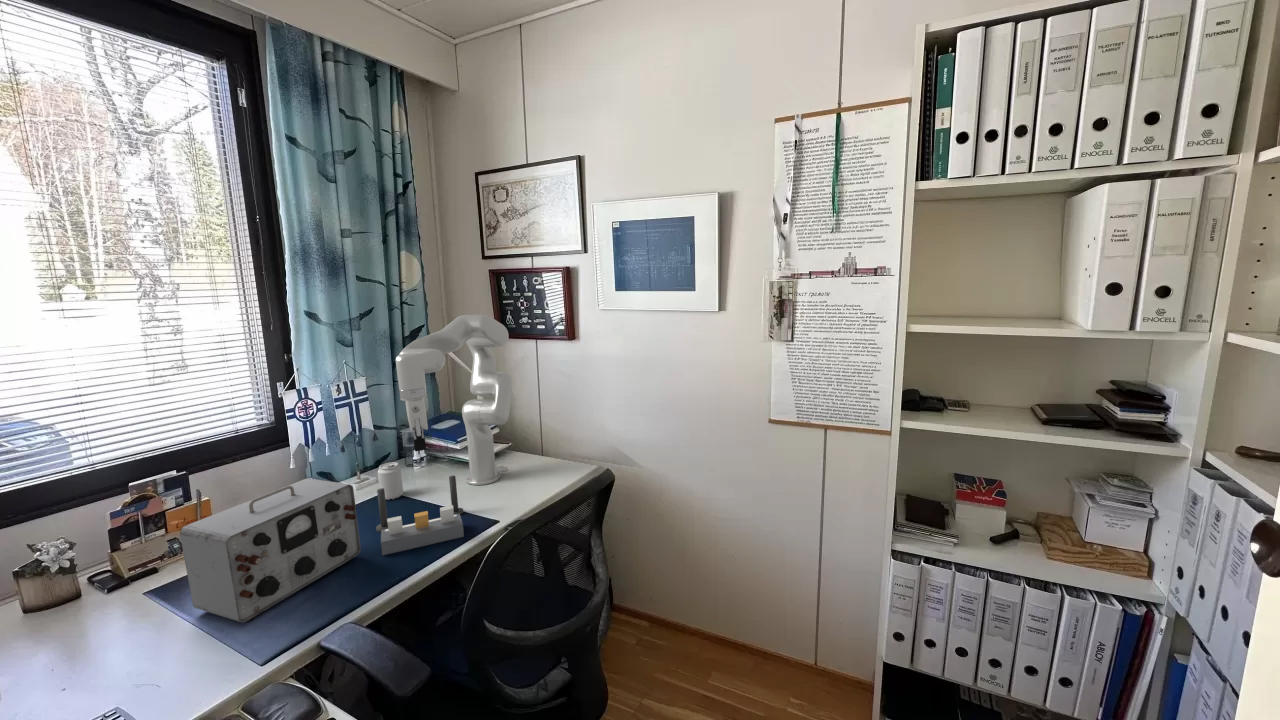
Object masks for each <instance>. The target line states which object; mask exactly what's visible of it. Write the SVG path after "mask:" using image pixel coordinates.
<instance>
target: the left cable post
mask: <svg viewBox="0 0 1280 720" xmlns="http://www.w3.org/2000/svg"><path fill="white" fill-rule="evenodd" d="M376 493H377V494H376V495H377V501H378V502H377V503H378V509H379V518H380V524H377V525H376V527H375V531H376V532H378V533H381V530H385V529H388V523H387V519H388V510H387V509H388V508H387V502H386V500H385V491H384V488H381V489H380V488H378V489H377V490H376Z"/></svg>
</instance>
